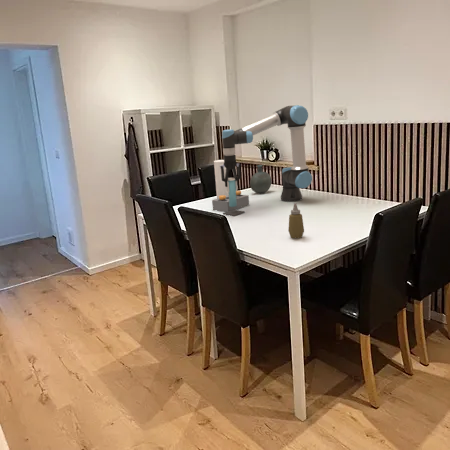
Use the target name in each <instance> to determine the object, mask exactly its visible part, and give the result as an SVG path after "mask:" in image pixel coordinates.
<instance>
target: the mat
mask: <svg viewBox="0 0 450 450" xmlns="http://www.w3.org/2000/svg"><path fill="white" fill-rule="evenodd" d="M244 213H246V212H245V210H239V209H237V210H231V211H228V212H223V213H222V214H226V215H225V216H229V215H230V216H231V217H236V216H239V215H243V214H244Z"/></svg>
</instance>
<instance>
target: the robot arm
mask: <svg viewBox="0 0 450 450" xmlns="http://www.w3.org/2000/svg"><path fill="white" fill-rule="evenodd" d="M308 119H309V112H308V110H307V108H305V107H304V106H303V105H298V104H296V105H288V106H284V107H282V108H281V109H278V110H276V111H274V112H272V114H271V115H268V116H266V117H264V118H261V119H258V120H257V121H254V122H253V123H250V124H248V125H246V126H243V127H241V128H239V129H236V130H234V129H232V128H231V129H224V130H222V132H221V135H222V136H221V140H222V152H223V160H224V165H222V166H220V168H221V177H222V181H224V182H225V187H227V192H229V182H228V178H229V173H230V170H231V171H232V174H233V178H235V186H236V191H238V186H239V180H242V176H241V173H242V172H241V166H242V164H241V163H239V162H237V157H236V156H237V155H236V145H243V144H252V142H253V139H254V136H255V135H258V134H260V133H261V132H264V131H266V130H269V129H271V128H274V127H276V126H278V127H281V126H282V125H287V128H288V129H289V131H290V143H291V156H292V157H291V158H292V166H290V167H284V168H282V170H281V175H282V176H281V177H282V180H281V181H282V190H281V194H280V201H283V202H298V201H302V200H303V195H302V191H301V189H307V188H308V187H309V186H310V185H311V184H312V182H313V176H312V174H311V173H310V169H309V166H308V165H307V161H306V147H305V146H306V145H305V144H306V143H305V132H304V131H305V130H304V129H305V128H306V125H307V124H306V122H307V121H308ZM224 166H225V167H226V174H225V178H224ZM236 170H237V171H236Z"/></svg>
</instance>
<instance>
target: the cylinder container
mask: <svg viewBox="0 0 450 450" xmlns="http://www.w3.org/2000/svg"><path fill="white" fill-rule="evenodd" d="M222 165H224V159H216V160H213V167H214V179H215V191H216V193H215V194H216V199H218V198H219V196H220V195H226V196H228V195H229V193H228V192H227V187H225V182H224V181H222V177H221V168H220V166H222ZM225 174H226V167H225V166H224V178H225Z"/></svg>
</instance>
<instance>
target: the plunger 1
mask: <svg viewBox="0 0 450 450" xmlns="http://www.w3.org/2000/svg"><path fill="white" fill-rule="evenodd" d="M219 199H220V201H225V199H226V195H220V196H219Z"/></svg>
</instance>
